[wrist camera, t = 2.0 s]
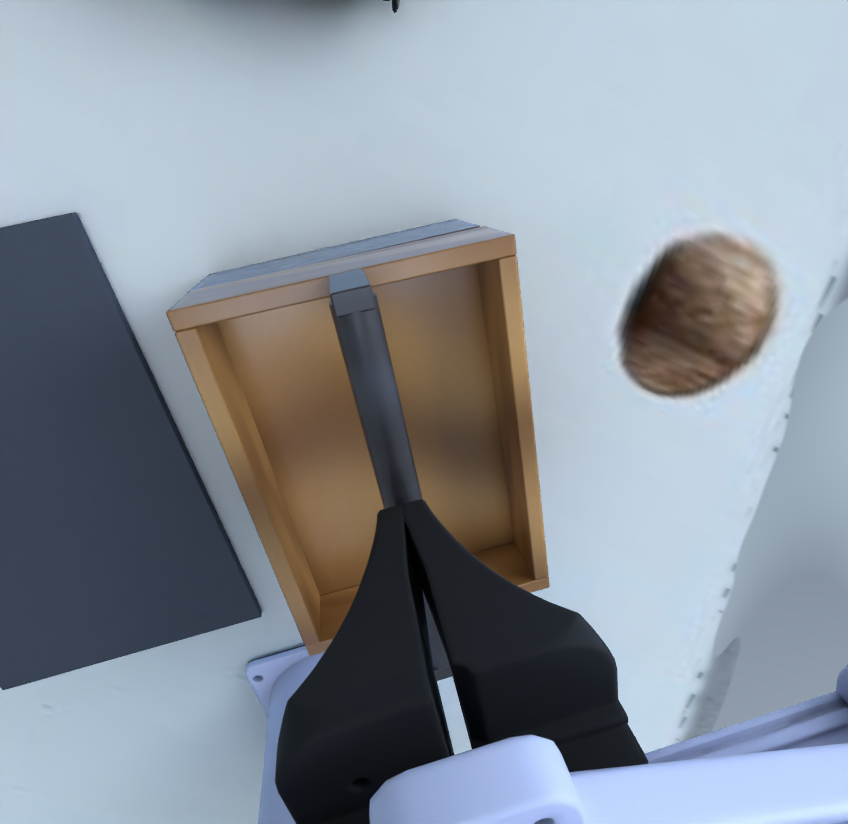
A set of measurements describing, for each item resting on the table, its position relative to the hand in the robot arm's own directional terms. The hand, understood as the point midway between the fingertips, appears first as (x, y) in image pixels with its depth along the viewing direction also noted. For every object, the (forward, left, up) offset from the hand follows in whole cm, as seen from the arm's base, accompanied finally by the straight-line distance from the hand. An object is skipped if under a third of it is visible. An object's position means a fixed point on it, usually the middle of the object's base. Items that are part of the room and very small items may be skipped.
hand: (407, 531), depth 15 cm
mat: (0, +15, -10) cm, 18 cm away
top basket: (0, 0, -6) cm, 6 cm away
